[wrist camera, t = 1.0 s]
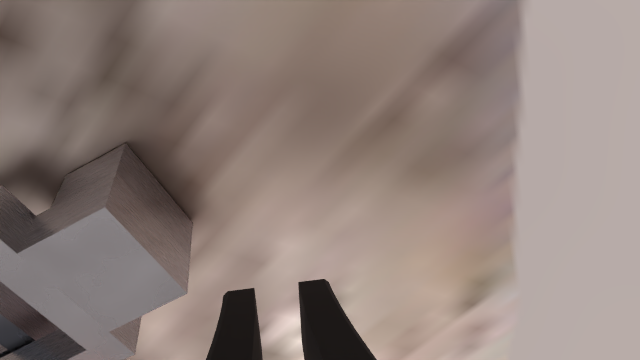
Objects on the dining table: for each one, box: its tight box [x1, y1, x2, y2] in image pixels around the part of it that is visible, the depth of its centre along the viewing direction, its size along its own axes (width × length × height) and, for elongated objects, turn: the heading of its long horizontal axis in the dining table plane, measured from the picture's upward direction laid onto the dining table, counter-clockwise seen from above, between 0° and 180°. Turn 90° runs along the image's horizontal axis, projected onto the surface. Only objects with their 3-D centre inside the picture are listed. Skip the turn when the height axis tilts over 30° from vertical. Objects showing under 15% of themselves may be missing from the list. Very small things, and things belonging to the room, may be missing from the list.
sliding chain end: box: [0, 143, 193, 360], centre depth 19 cm, size 11×7×4 cm
